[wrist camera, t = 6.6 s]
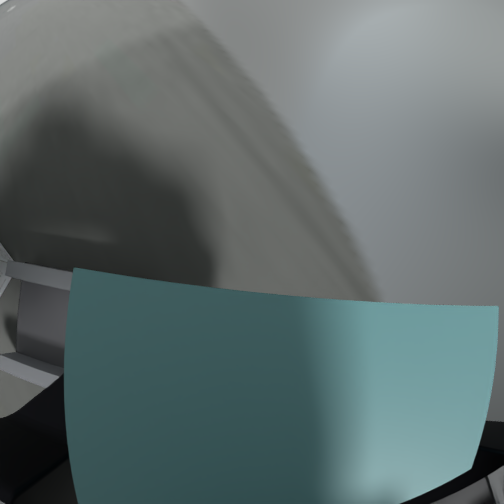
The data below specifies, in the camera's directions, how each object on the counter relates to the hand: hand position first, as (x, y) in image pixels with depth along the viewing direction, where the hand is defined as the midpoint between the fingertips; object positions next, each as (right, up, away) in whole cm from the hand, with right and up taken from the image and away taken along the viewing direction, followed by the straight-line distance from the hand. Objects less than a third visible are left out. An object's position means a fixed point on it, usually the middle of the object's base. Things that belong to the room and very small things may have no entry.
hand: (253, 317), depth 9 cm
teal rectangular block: (-1, -3, +6) cm, 7 cm away
